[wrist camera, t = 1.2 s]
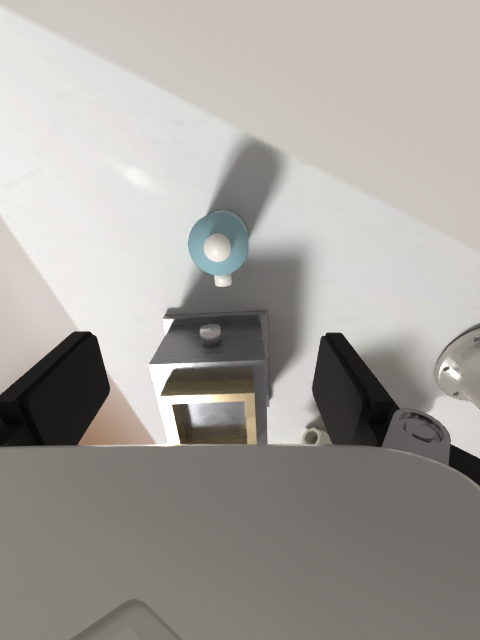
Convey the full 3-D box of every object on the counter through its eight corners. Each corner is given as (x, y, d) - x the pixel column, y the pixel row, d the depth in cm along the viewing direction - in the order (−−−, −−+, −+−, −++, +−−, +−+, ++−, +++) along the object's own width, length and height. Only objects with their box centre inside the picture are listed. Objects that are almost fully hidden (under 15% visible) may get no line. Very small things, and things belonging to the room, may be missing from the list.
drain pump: (246, 208, 30) (247, 212, 22) (248, 268, 33) (250, 291, 25) (197, 211, 30) (181, 216, 22) (204, 271, 33) (192, 294, 25)
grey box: (267, 306, 35) (278, 358, 23) (268, 401, 42) (277, 476, 31) (163, 311, 35) (126, 365, 24) (182, 404, 42) (160, 479, 31)
